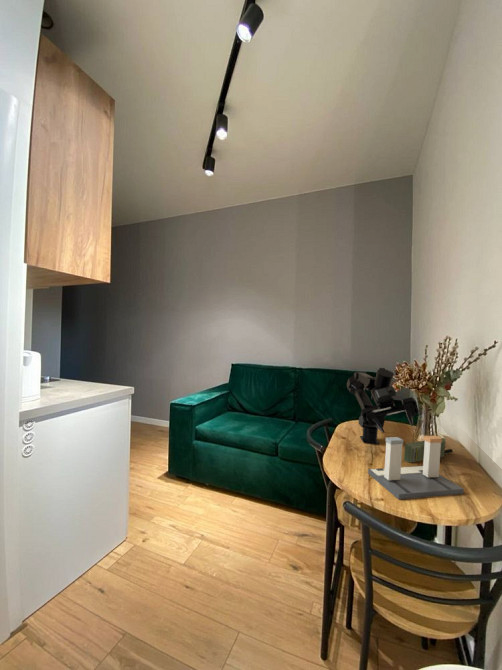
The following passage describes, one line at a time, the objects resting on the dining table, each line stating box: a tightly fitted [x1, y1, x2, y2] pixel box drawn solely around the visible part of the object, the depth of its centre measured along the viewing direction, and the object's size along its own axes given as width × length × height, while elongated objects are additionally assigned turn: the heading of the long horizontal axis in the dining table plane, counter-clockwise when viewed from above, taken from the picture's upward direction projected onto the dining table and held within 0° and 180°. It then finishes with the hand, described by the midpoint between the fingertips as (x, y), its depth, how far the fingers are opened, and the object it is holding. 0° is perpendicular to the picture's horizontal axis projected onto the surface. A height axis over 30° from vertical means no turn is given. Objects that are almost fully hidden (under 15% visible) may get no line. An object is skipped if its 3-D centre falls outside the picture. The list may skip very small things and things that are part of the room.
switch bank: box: [367, 465, 465, 500], centre depth 84 cm, size 14×22×2 cm, turn 102°
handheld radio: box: [403, 437, 454, 464], centre depth 103 cm, size 7×3×25 cm
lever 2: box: [422, 435, 443, 478], centre depth 85 cm, size 2×4×12 cm, turn 102°
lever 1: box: [384, 436, 404, 480], centre depth 82 cm, size 2×4×12 cm, turn 102°
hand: (397, 428), depth 90 cm, fingers open, 9 cm apart
